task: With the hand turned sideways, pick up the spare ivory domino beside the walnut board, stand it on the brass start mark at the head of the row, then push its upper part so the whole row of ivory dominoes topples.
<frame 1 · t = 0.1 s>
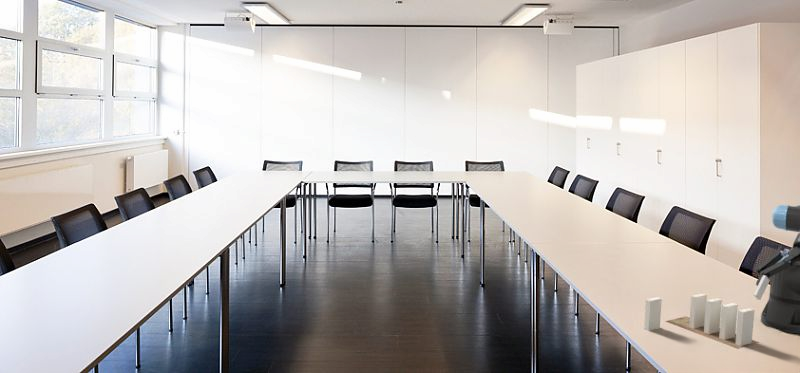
hand: (781, 304, 159), 15 cm above the table, tool tilted 35°, fingers open, 13 cm apart
domino 2: (696, 326, 182), point 1 cm above the table, touching board
domino 4: (727, 337, 173), point 1 cm above the table, touching board
domino 5: (743, 343, 169), point 1 cm above the table, touching board
board: (709, 333, 178), on the table
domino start: (651, 330, 180), on the table
domino 3: (711, 331, 178), point 1 cm above the table, touching board
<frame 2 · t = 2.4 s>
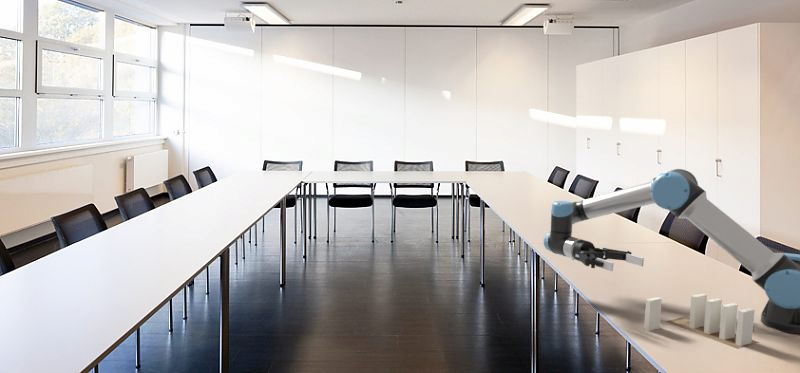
hand: (628, 264, 187), 18 cm above the table, tool horizontal, fingers open, 13 cm apart
nothing on the table moved.
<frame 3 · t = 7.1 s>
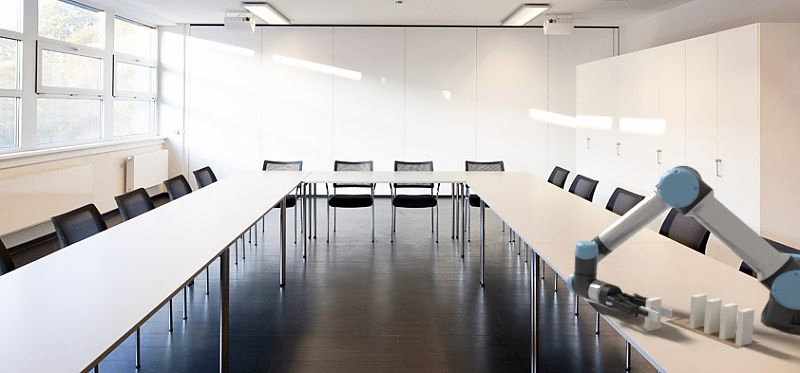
hand: (664, 315, 176), 6 cm above the table, tool horizontal, fingers closed on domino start, 5 cm apart
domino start: (651, 330, 180), on the table, touching gripper
everything else where it was.
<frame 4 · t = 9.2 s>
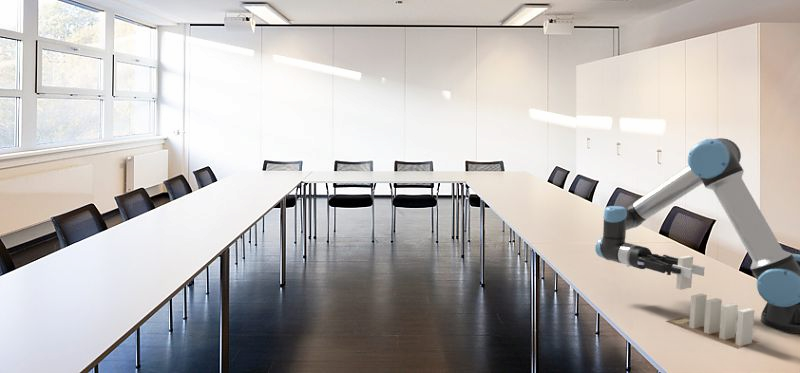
hand: (697, 272, 180), 18 cm above the table, tool horizontal, fingers closed on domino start, 5 cm apart
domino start: (683, 287, 185), point 12 cm above the table, touching gripper
everything else where it was.
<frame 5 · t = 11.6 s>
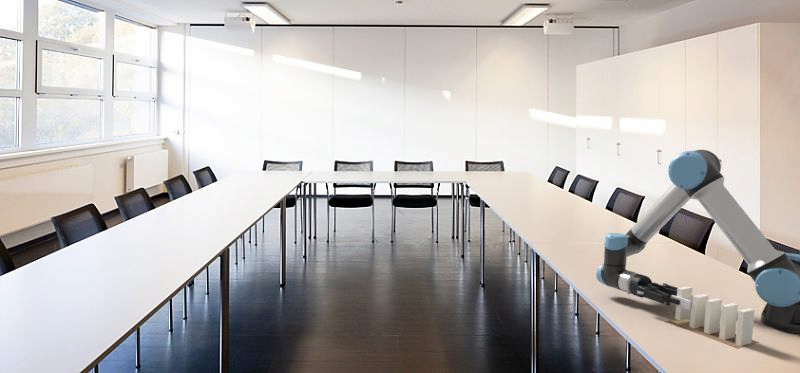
hand: (696, 304, 182), 8 cm above the table, tool horizontal, fingers closed on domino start, 5 cm apart
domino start: (682, 318, 186), point 2 cm above the table, touching gripper
everything else where it was.
when the fingers open (8 cm above the table, at t = 11.6 s): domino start stays where it is, resting on board.
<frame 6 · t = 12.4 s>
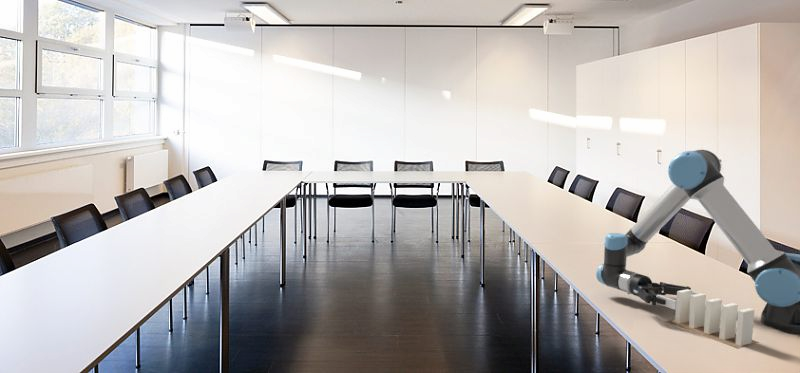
hand: (690, 302, 184), 8 cm above the table, tool horizontal, fingers open, 13 cm apart
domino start: (682, 321, 187), point 1 cm above the table, touching board
everything else where it was.
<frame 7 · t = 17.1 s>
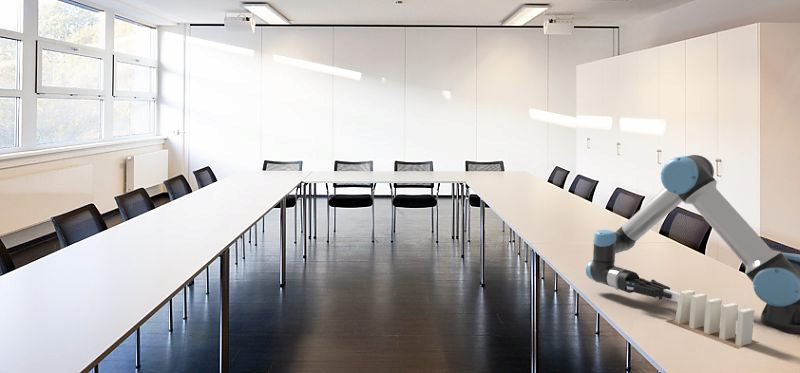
hand: (682, 299, 186), 8 cm above the table, tool horizontal, fingers closed
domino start: (682, 320, 187), point 1 cm above the table, tilted 6°, touching board, gripper
everything else where it was.
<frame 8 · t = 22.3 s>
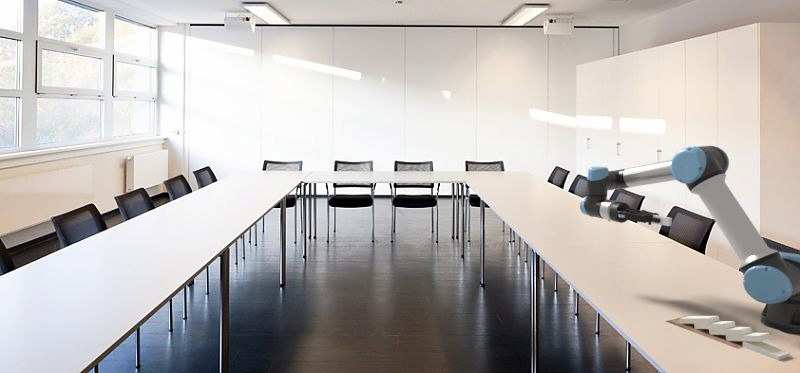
hand: (670, 222, 197), 30 cm above the table, tool horizontal, fingers closed
domino 2: (699, 325, 181), point 1 cm above the table, tilted 72°, touching domino 3, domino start
domino 4: (731, 336, 172), point 1 cm above the table, tilted 71°, touching domino 3, domino 5
domino 5: (748, 342, 168), point 1 cm above the table, tilted 94°, touching board, domino 4
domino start: (685, 319, 186), point 1 cm above the table, tilted 72°, touching board, domino 2
domino 3: (714, 330, 177), point 1 cm above the table, tilted 72°, touching board, domino 2, domino 4
at the end: domino 5 tilted 94°; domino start inside the target area (0.9 cm from its centre), point 1.4 cm above the table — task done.
